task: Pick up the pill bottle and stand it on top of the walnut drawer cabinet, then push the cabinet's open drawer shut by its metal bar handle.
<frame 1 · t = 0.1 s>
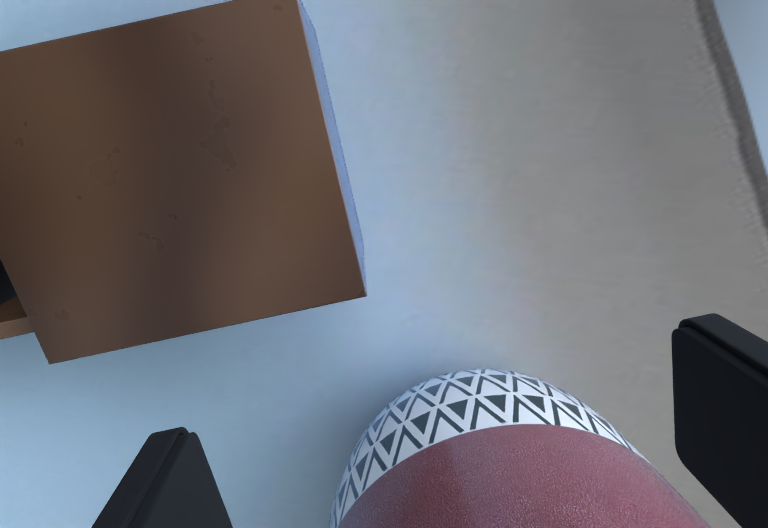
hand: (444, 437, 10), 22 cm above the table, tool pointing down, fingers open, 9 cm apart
drawer: (4, 219, 25), point 5 cm above the table, slide at 6.0 cm
cabinet: (220, 167, 30), on the table
planter: (459, 434, 36), on the table
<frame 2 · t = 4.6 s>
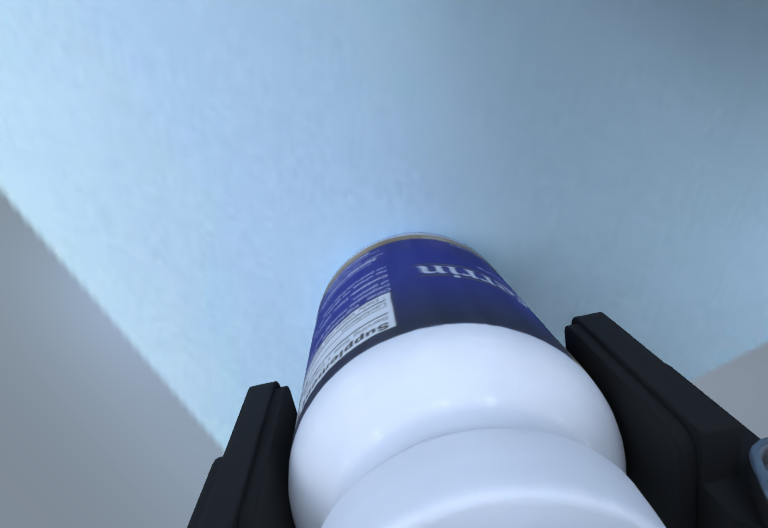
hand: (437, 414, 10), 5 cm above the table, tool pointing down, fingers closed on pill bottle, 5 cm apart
pill bottle: (411, 316, 15), on the table, touching gripper
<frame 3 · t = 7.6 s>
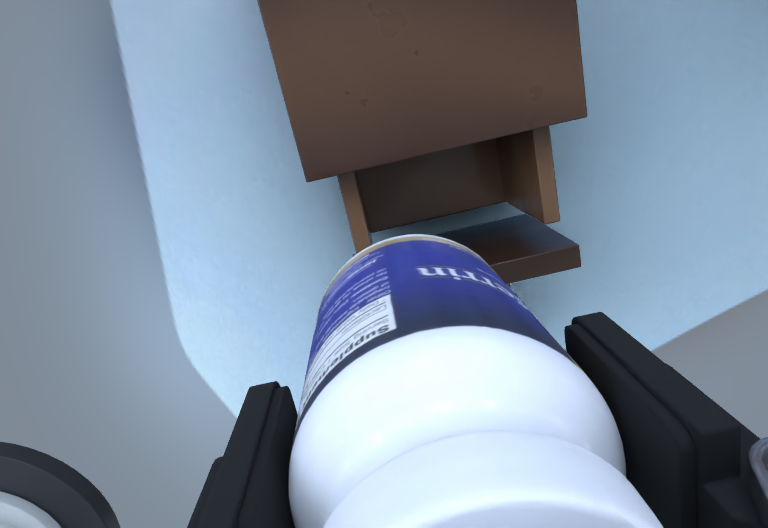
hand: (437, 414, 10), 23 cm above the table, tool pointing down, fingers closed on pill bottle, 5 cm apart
pill bottle: (411, 318, 15), point 18 cm above the table, touching gripper
drawer: (439, 190, 27), point 5 cm above the table, slide at 6.0 cm
cabinet: (393, 11, 29), on the table
when the fingers open (15 cm above the table, at t = 10.8 s): pill bottle stays where it is, resting on cabinet.
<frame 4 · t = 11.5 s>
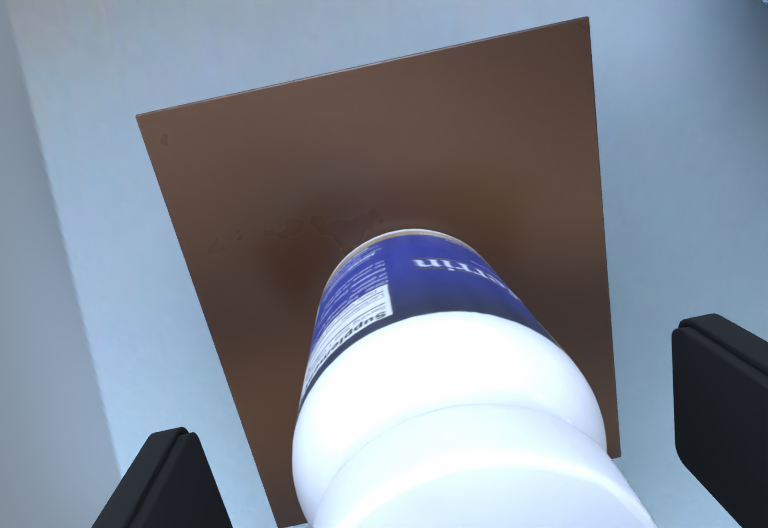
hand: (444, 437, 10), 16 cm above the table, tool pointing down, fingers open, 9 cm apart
pill bottle: (408, 310, 16), point 9 cm above the table, touching cabinet
cabinet: (390, 235, 25), on the table
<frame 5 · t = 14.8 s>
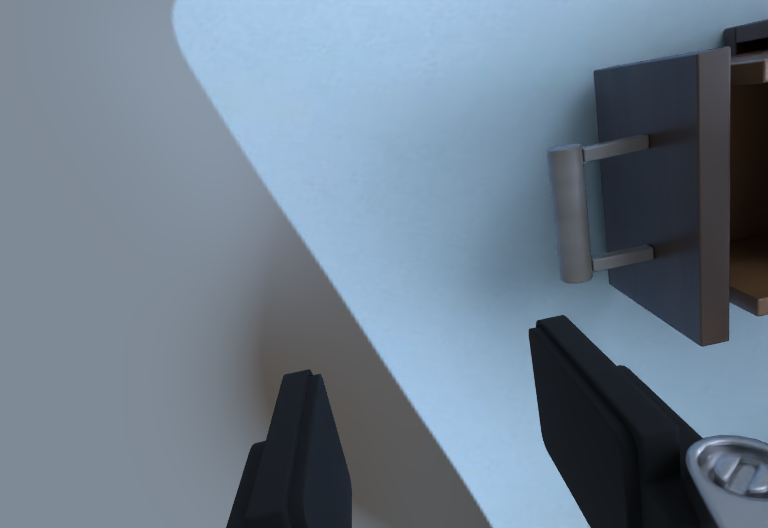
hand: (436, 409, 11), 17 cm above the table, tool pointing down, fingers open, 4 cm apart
drawer: (743, 174, 22), point 5 cm above the table, slide at 6.0 cm
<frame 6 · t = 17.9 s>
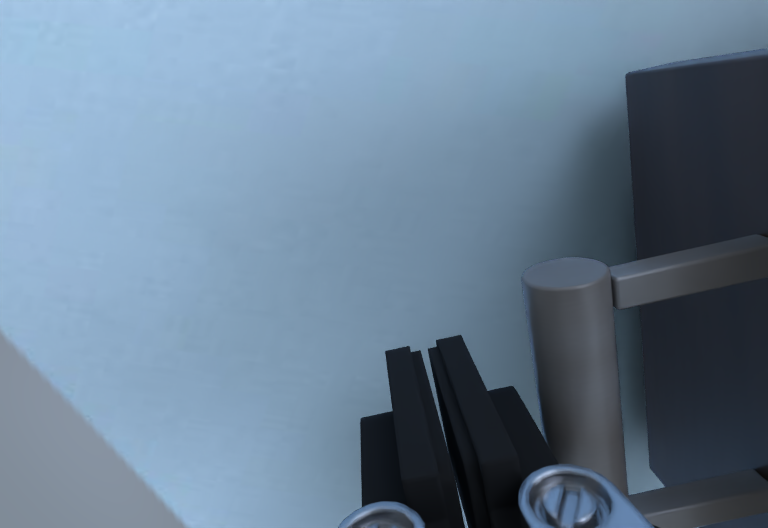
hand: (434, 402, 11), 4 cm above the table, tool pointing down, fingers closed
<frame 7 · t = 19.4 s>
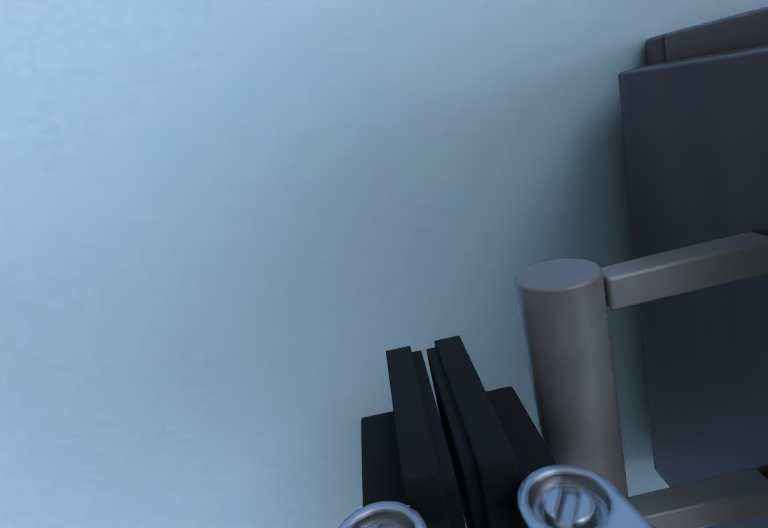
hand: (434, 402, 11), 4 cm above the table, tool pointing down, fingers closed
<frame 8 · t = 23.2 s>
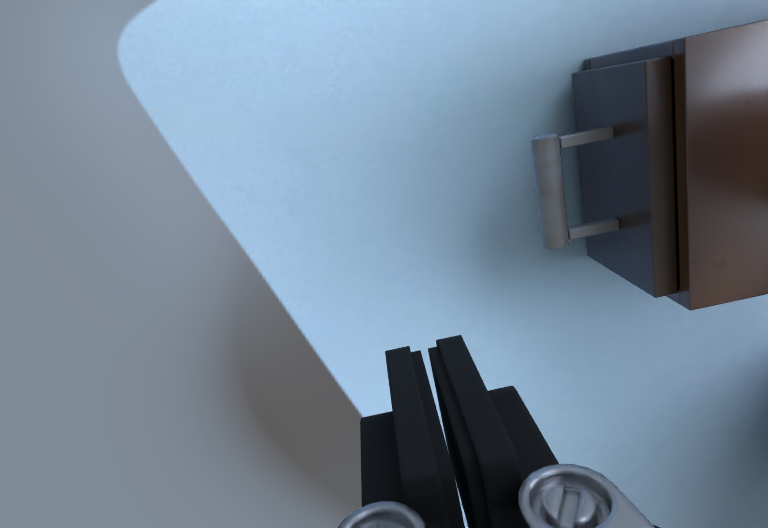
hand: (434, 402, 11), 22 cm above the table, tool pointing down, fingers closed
drawer: (693, 159, 27), point 5 cm above the table, slide at 0.0 cm, touching cabinet
cabinet: (703, 139, 32), on the table
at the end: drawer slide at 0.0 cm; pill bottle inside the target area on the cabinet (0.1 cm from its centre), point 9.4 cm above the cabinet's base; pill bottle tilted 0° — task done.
